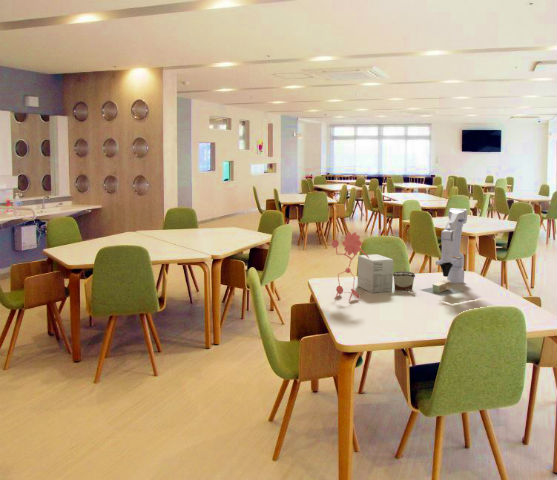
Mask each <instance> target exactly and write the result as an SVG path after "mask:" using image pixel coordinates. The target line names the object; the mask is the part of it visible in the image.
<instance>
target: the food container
mask: <svg viewBox="0 0 557 480" xmlns="http://www.w3.org/2000/svg"><path fill="white" fill-rule="evenodd" d="M415 278H416V274H415V273H414V272H412V271H405V270H400V271H399V270H398V271H393V284H394V285H393V286H394V291H395V292H410V291H412V290H413V287H414V280H415Z"/></svg>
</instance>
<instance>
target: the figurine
mask: <svg viewBox="0 0 557 480" xmlns="http://www.w3.org/2000/svg"><path fill="white" fill-rule="evenodd" d="M360 239H361V237H360V235H358V234H357V232H352V233H351V232H350V231H348V232H347V233H346V235H344V240H342V242H341V244H342V245H343V246H344V251H345V252H344V253H338V246H339V243H340V242H339V240H338V239H337V238H335V239H333V240H332V241H331V246H332V248H333V249H335V253H336V255H341V256H346V257H347V258H349V259H350V261H349V264H348V267H347V268H345V270H343V272H339V273H338V274H337V280H338V285H337V287H336V289H335V290H336V295H335V298H338V295H339V296H340V295H341V294H343V292H344V294H345V293H346V294H347V293H349V294H350V296H349V299H348V301H350V302H351V298H352V297H353V296H354V297H355V298H357V299H358V300H360V295H359V293H358V292H357V291H356V290H355V283H353V284H352V288H351V289H350V291H351V292H348V291H347V292H345V291H344V288H343V286H341V284H340V283H341V282H340V278H339V275H340V274H344V273H347V274H349V273H350V274H351V275H352V277H353V281H355V280H356V279H355V275H353V273H352V270H351V268H350V266H351V263H352V260H353V259H354V258H355V256H357V255H358V252H362V253H363V255H366V256H367V257H368V255H369V254H367V253H366V252H365V251H364V250H363V249H362V248H361V246H363V242H362V240H360ZM352 254H353V256H352V257H350V256H351V255H352ZM368 258H369V257H368ZM352 295H353V296H352ZM357 303H358V304H359V303H360V302H358V301H357Z"/></svg>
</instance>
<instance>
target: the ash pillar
mask: <svg viewBox="0 0 557 480" xmlns="http://www.w3.org/2000/svg"><path fill="white" fill-rule="evenodd" d="M432 287H433V291H434V292H437V293H439V292H442V291H445V290H447V289H450V288H452V283H451V281H448V280H447V279H444V280H440V281H437V282H435V283H433V284H432Z"/></svg>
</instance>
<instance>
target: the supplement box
mask: <svg viewBox="0 0 557 480" xmlns="http://www.w3.org/2000/svg"><path fill="white" fill-rule="evenodd" d="M357 255H358V254H357ZM367 255H368V257H369V258H368V257H367V256H366V255H365V254H361V255H360V254H359V255H358V256H357V258H358V261H357V281H356V282H357V283H356V285H357V287H359V288H361V289H364V291H365V290H366V291H368V292H370V293H374V294H375V293H384V292H385V293H386V292H393V283H394V276H393V274H394V258H390V257H388V256H384V255H381V254H377V253H375V254H367Z"/></svg>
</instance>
